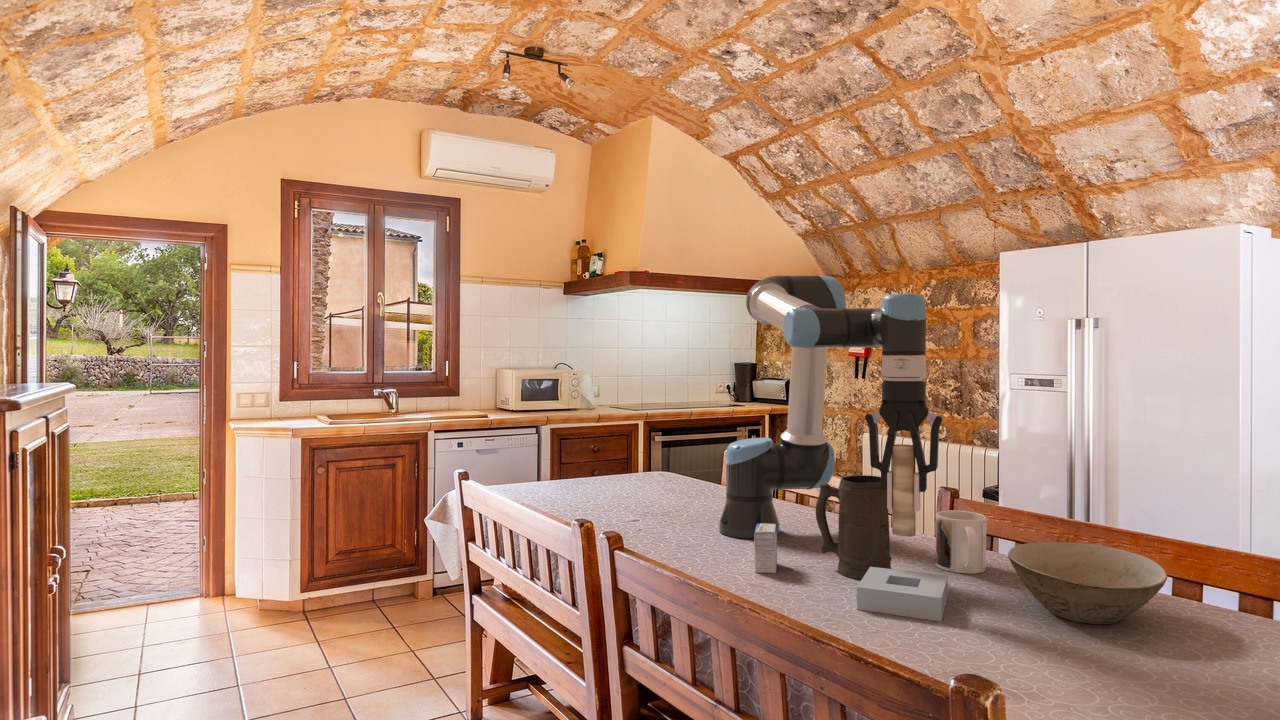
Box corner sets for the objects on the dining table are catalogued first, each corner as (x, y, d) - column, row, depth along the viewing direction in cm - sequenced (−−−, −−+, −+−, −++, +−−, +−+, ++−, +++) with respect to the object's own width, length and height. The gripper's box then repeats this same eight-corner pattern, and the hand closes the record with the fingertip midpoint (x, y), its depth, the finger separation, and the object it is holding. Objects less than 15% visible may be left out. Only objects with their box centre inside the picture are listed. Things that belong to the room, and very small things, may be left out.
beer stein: (896, 568, 161) (889, 473, 161) (895, 582, 151) (888, 481, 151) (821, 566, 166) (815, 474, 166) (816, 580, 156) (809, 482, 156)
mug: (996, 567, 162) (996, 515, 162) (975, 580, 153) (976, 524, 153) (946, 558, 169) (946, 508, 169) (924, 569, 160) (924, 517, 160)
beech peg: (893, 530, 142) (893, 443, 141) (916, 532, 140) (916, 444, 140) (890, 535, 138) (890, 446, 138) (914, 537, 136) (914, 447, 136)
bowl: (1171, 652, 117) (1171, 586, 116) (999, 623, 129) (1000, 564, 129) (1163, 607, 137) (1163, 551, 136) (1015, 586, 149) (1016, 534, 149)
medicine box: (776, 574, 158) (776, 532, 157) (754, 573, 158) (754, 531, 158) (777, 563, 165) (777, 523, 165) (756, 562, 166) (756, 522, 166)
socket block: (870, 587, 149) (870, 566, 149) (947, 597, 143) (947, 575, 142) (856, 609, 136) (856, 586, 136) (941, 621, 130) (941, 597, 130)
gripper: (851, 379, 139) (852, 508, 139) (952, 380, 132) (952, 516, 132) (859, 378, 146) (859, 501, 146) (955, 379, 138) (955, 508, 139)
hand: (903, 508), depth 139 cm, fingers closed on beech peg, 4 cm apart
